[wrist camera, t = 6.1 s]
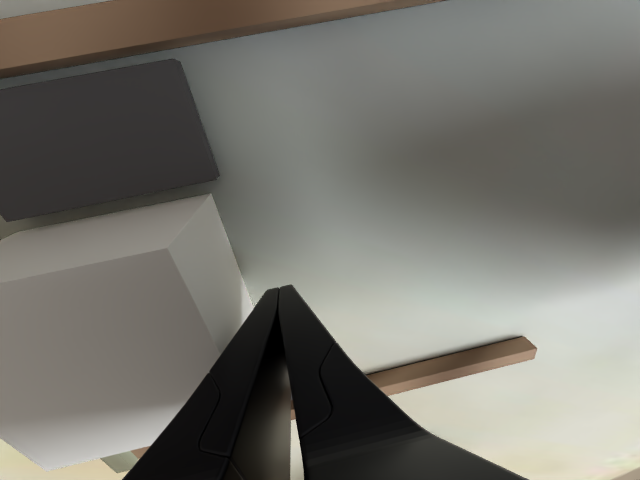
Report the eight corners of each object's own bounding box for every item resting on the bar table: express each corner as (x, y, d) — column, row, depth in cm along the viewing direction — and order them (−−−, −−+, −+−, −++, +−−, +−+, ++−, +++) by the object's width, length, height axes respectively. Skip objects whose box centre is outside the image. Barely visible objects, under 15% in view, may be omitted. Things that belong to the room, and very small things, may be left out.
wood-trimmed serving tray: (636, -72, 7) (701, -105, 6) (521, 346, 14) (540, 365, 13) (-234, 74, 6) (-349, 66, 5) (129, 444, 13) (116, 473, 12)
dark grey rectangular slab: (180, 61, 7) (173, 58, 6) (294, 389, 13) (295, 398, 13) (-62, 105, 6) (-87, 105, 6) (175, 418, 13) (172, 429, 13)
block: (212, 191, 9) (166, 248, 5) (261, 323, 11) (253, 419, 8) (24, 228, 8) (-166, 317, 5) (120, 355, 11) (46, 471, 8)
